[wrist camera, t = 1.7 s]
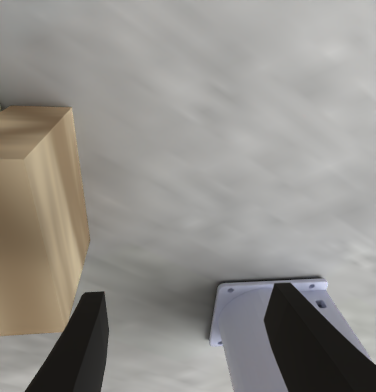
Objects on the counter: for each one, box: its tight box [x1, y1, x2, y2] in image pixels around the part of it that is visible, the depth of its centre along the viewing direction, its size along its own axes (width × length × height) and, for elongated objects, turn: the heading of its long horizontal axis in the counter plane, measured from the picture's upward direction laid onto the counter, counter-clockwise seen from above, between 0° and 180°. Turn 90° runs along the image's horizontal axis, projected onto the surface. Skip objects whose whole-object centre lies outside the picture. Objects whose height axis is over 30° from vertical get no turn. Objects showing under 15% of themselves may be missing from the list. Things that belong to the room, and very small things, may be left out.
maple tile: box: [0, 105, 90, 336], centre depth 14 cm, size 3×9×7 cm, turn 177°
